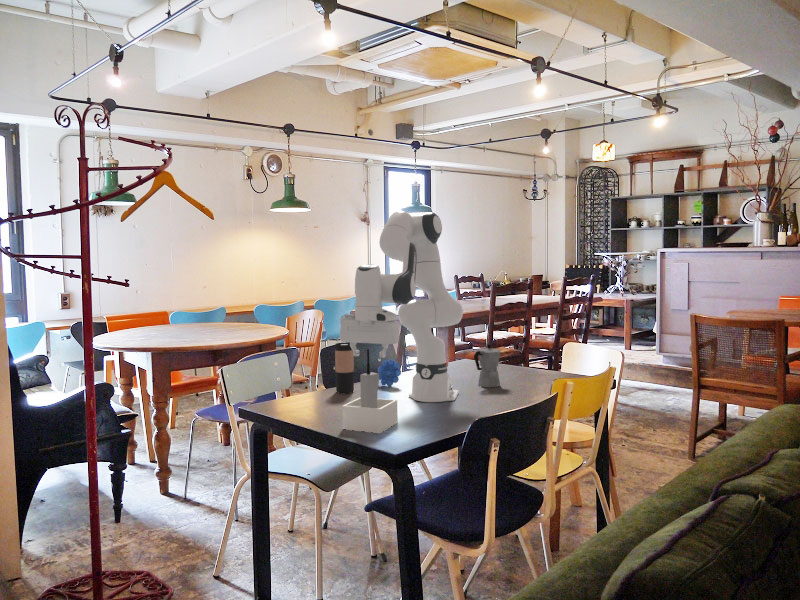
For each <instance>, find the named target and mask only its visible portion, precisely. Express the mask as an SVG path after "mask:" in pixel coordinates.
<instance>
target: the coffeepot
mask: <svg viewBox="0 0 800 600" xmlns="http://www.w3.org/2000/svg"><path fill="white" fill-rule="evenodd" d="M486 346H487V347H486V348H482V349H479V350H476V351H475V353H474V355H473V358H474V359H473V360H474V362H475V366H476V370H478V371H480V373H479V377H478V386H479V387H480V386H481V387H480V388H485V387H489V388H490V387H495V388H499V387H500V385H501V383H500V376H499V371H498V366H499V363H500V358H501V357H500V356H501V350H500V349H496V348H491V347H492V345H491V343H488V344H486ZM498 386H499V387H498ZM490 389H491V388H490Z"/></svg>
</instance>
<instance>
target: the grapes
mask: <svg viewBox="0 0 800 600" xmlns="http://www.w3.org/2000/svg"><path fill="white" fill-rule="evenodd" d="M377 373H378V374H379V381H380V384H381V386H387V387H389V386H390V387H392V386H393V385H394V384H397V383H398V382H399V377H400V376H401V374H402V371H401V369H400V363H399V362H398V361H397V362H395V359H393V358H389V360H383V361H382V362H381V365H379V366H378V367H377Z"/></svg>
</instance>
